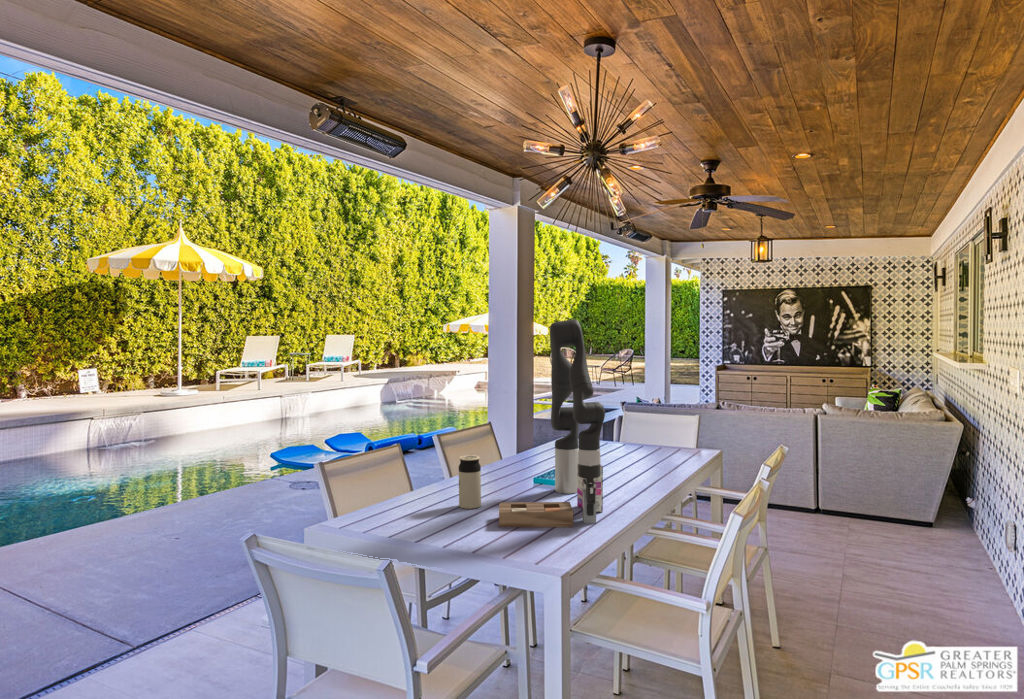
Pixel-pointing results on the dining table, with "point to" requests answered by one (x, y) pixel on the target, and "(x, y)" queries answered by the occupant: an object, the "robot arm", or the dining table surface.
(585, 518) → the plug
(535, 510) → the socket block
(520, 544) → the dining table surface
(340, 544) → the dining table surface
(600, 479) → the candy bar box
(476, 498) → the travel mug
